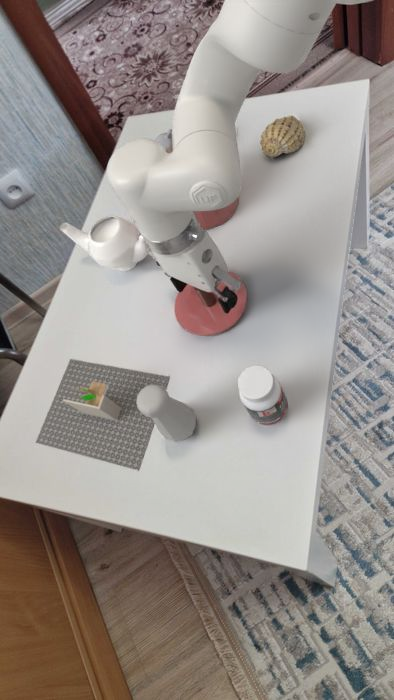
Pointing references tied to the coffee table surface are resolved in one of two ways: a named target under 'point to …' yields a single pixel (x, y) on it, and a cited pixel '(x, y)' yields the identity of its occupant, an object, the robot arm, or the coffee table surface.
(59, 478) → the coffee table surface
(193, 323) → the lid
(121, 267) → the teapot
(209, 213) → the pot
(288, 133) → the seashell
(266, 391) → the pill bottle
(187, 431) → the salt shaker
